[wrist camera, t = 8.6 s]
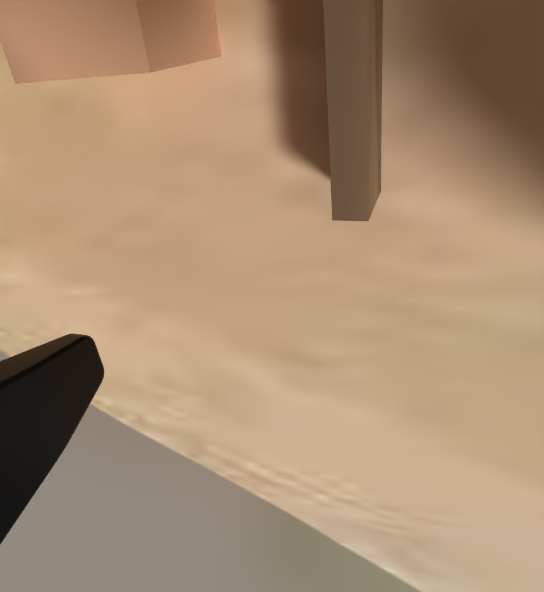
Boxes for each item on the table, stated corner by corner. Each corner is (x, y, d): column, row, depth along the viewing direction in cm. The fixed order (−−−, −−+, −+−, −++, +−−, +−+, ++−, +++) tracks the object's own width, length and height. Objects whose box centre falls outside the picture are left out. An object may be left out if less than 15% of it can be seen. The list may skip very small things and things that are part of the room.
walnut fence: (411, -350, 11) (398, -446, 9) (396, 191, 18) (386, 221, 15) (-24, -193, 16) (-111, -229, 13) (92, 190, 22) (48, 213, 20)
